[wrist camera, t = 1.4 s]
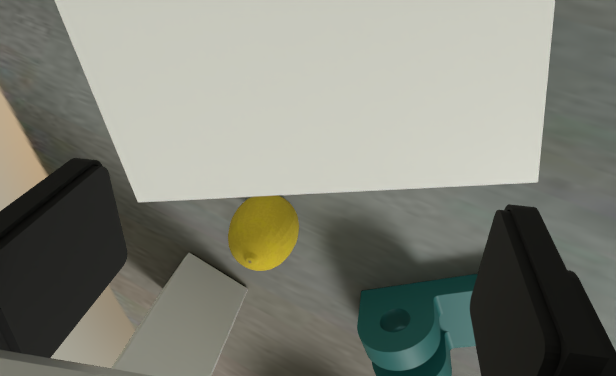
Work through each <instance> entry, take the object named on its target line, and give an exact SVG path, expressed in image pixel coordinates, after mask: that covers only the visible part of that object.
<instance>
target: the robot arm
mask: <svg viewBox="0 0 616 376" xmlns="http://www.w3.org/2000/svg"><path fill="white" fill-rule="evenodd" d="M126 259H127V249H126V244H125V240H124V236H123V232H122V228H121V223H120V219H119V215H118V211H117V206H116V202H115V198H114V194H113V190H112V185H111V181H110V177H109V173H108V170H107V169H106V168H105V167H103V166H102V164H101V163H100V162H99V161H97V160H89V159H80V158H73V159H71V160H70V161H68V162H67V163H65V164H64V165H63V166H61V167H60V168H59V169H57V170H56V171H55V172H53V173H52V174H50V175H49V176H48V177H46V178H45V179H44V180H42V181H41V182H40V183H38V184H37V185H36V186H34V187H33V188H31V189H30V190H29V191H28V192H26V193H25V194H23V195H22V196H21V197H19V198H18V199H16V200H15V201H14V202H12V203H11V204H10V205H8V206H7V207H6V208H4V209H3V210H1V211H0V376H152V375H146V374H140V373H135V372H129V371H123V370H117V369H111V368H106V367H100V366H94V365H87V364H81V363H75V362H69V361H64V360H57V359H52V358H51V356H52V355H53V354H54V353H55V351H56V350H57V349H58V348H59V346H60V345H61V344H62V342H63V341H64V340H65V339H66V337H67V336H68V335H69V334H70V332H71V331H72V330H73V329H74V327H75V326H76V325H77V324H78V322H79V321H80V320H81V318H82V317H83V316H84V315H85V313H86V312H87V311H88V310H89V308H90V307H91V306H92V305H93V303H94V302H95V301H96V300H97V298H98V297H99V296H100V295H101V293H102V292H103V291H104V290H105V288H106V287H107V286H108V285H109V283H110V282H111V281H112V279H113V278H114V277H115V276H116V274H117V273H118V272H119V271H120V269H121V268H122V267H123V266H124V264H125V262H126ZM470 316H471V322H472V327H473V333H474V338H475V344H476V349H477V354H478V360H479V365H480V371H481V376H616V351H615V349H614V347H613V345H612V343H611V341H610V339H609V337H608V335H607V333H606V331H605V329H604V328H603V326H602V324H601V322H600V320H599V318H598V316H597V314H596V312H595V310H594V308H593V306H592V304H591V302H590V300H589V298H588V296H587V294H586V292H585V290H584V288H583V286H582V284H581V282H580V280H579V278H578V277H577V275H576V274H575V273H574V272H572V271H568V270H567V269H566V267H565V265H564V263H563V261H562V259H561V257H560V255H559V253H558V251H557V249H556V246H555V244H554V242H553V240H552V238H551V236H550V234H549V232H548V230H547V228H546V226H545V224H544V222H543V219H542V217H541V215H540V213H539V211H538V210H537V208H535V207H527V206H518V205H507V206H506V208H505V210H497V211H496V213H495V216H494V219H493V223H492V226H491V230H490V233H489V236H488V240H487V243H486V247H485V250H484V254H483V257H482V261H481V264H480V268H479V271H478V275H477V278H476V281H475V285H474V288H473V292H472V295H471V299H470Z"/></svg>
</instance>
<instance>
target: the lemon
mask: <svg viewBox="0 0 616 376" xmlns="http://www.w3.org/2000/svg"><path fill="white" fill-rule="evenodd" d="M298 231H299V222H298V217H297V214H296V212H295V210H294V208H293V207H292V205H291V204H290V203H289V202H288V201H287V200H285V199H284V198H282V197H280V196H278V195H275V196H255V197H251V198H249V199H247V200H246V201H245V202H244V203H243V204H242V205H241V206H240V207H239V208H238V209H237V211H236V213H235V214H234V216H233V218H232V220H231V223H230V228H229V233H228V241H229V248H230V250H231V253H232V255H233V256H234V258H235V259H236V260H237V261H238V262H239V263H240V264H241V265H243V266H244V267H246V268H249V269H251V270H256V271H264V270H269V269H272V268H274V267H276V266H278V265H280V264H281V263H282V262H283V261H284V260H285V259H286V258H287V257H288V256H289V254H290V253H291V251H292V249H293V248H294V246H295V244H296V241H297V238H298Z"/></svg>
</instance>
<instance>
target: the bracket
mask: <svg viewBox="0 0 616 376" xmlns="http://www.w3.org/2000/svg"><path fill="white" fill-rule="evenodd" d="M477 275H478V274H473V275H466V276H459V277H452V278H445V279H439V280H432V281H425V282H418V283H412V284H405V285H398V286H391V287H384V288H378V289H371V290H364V291H361V299H360V308H359V316H358V325H357V329H358V334H359V337H360V339H361V341H362V344H363V346H364V348H365V351H366V353H367V355H368V357H369V358H370V360H371V361H372V365H373V369H374V371H375V374H376V376H451V374H452V368H451V358H450V350H451V349H453V348H460V347H471V346H476V344H475V338H474V333H473V327H472V322H471V316H470V299H471V295H472V292H473V288H474V285H475V281H476V278H477Z"/></svg>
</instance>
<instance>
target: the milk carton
mask: <svg viewBox="0 0 616 376" xmlns="http://www.w3.org/2000/svg"><path fill="white" fill-rule="evenodd" d="M247 290H248V289H247V288H246V287H244V286H243V285H241V284H239V283H238V282H236V281H235V280H233V279H231V278H230V277H228V276H226V275H225V274H223V273H222V272H220V271H218V270H217V269H215V268H214V267H212V266H210V265H209V264H207V263H205V262H204V261H202V260H201V259H199V258H197V257H196V256H194V255H192V254H191V253H188V254H187V255H186V257H185V258H184V259H183V261H182V262H181V264H180V265H179V266H178V268H177V269H176V271H175V272H174V274H173V275H172V276H171V278H170V279H169V281H168V282H167V284H166V285H165V286H164V288H163V289H162V291H161V292H160V294H159V296H158V297H157V299H156V300H155V302H154V303H153V305H152V306H151V308H150V309H149V311H148V312H147V314H146V315H145V317H144V319H143V320H142V322H141V323H140V325H139V326H138V328H137V329H136V331H135V332H134V334H133V335H132V337H131V339H130V340H129V342H128V343H127V345H126V346H125V348H124V349H123V351H122V353H121V354H120V355H119V357H118V358H117V360H116V362H115V363H114V365H113V366H112V368H111V369H117V370H123V371H129V372H135V373H140V374H146V375H152V376H211V375H212V373H213V370H214V368H215V366H216V363H217V361H218V359H219V356H220V354H221V351H222V349H223V347H224V344H225V342H226V340H227V337H228V335H229V333H230V330H231V328H232V325H233V323H234V321H235V318H236V316H237V314H238V311H239V309H240V306H241V304H242V302H243V299H244V297H245V295H246V292H247Z"/></svg>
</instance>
